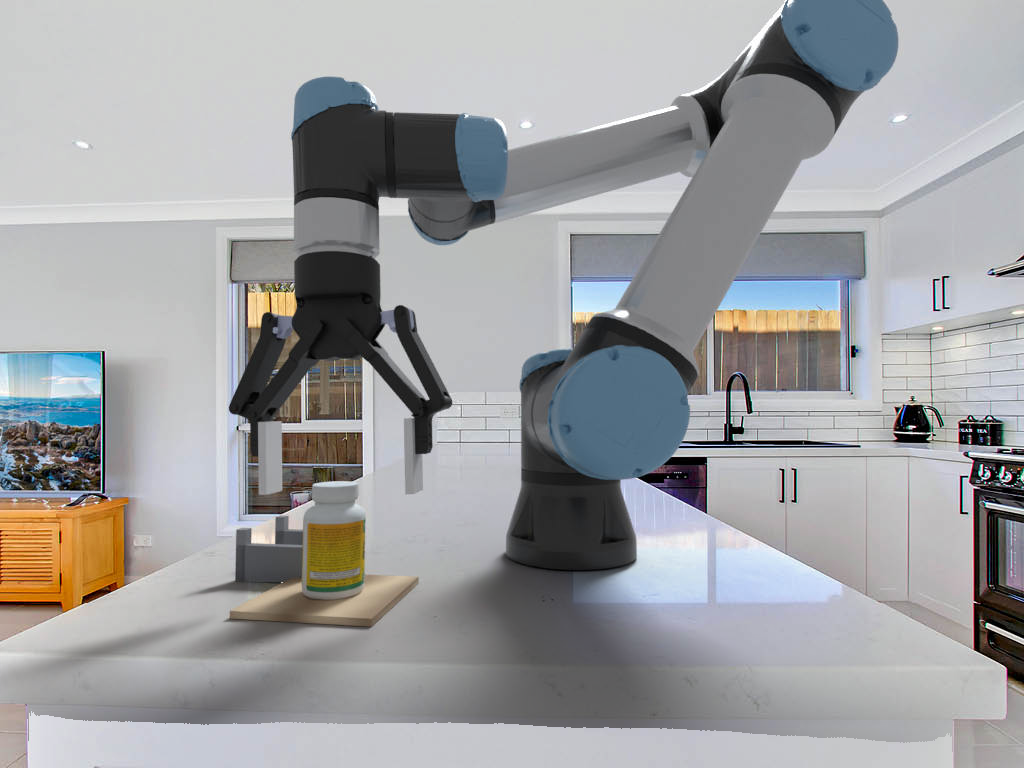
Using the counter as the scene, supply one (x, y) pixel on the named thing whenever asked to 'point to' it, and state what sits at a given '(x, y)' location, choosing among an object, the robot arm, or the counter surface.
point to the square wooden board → (327, 603)
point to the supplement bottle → (333, 542)
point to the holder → (269, 555)
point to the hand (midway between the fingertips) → (341, 493)
